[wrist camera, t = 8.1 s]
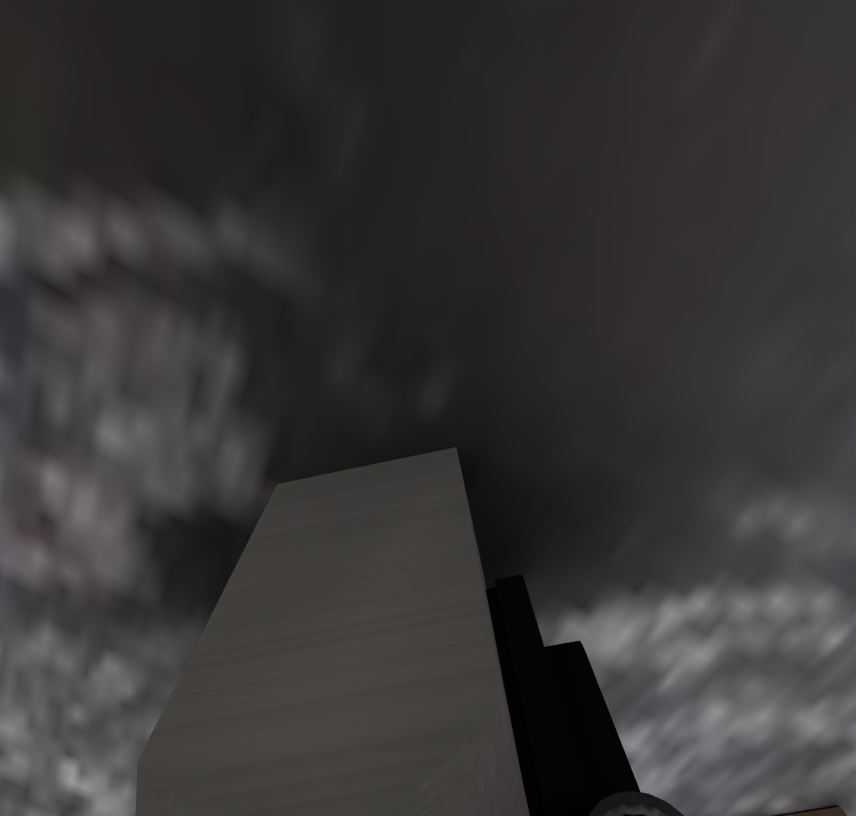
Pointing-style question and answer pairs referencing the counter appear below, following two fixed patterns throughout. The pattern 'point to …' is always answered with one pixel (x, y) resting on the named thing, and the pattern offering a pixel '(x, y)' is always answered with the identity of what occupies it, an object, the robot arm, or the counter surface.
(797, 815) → the wooden tray
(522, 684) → the robot arm
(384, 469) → the white cardboard box
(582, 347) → the counter surface
